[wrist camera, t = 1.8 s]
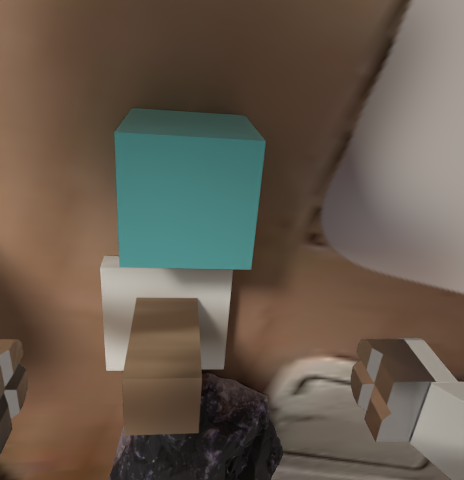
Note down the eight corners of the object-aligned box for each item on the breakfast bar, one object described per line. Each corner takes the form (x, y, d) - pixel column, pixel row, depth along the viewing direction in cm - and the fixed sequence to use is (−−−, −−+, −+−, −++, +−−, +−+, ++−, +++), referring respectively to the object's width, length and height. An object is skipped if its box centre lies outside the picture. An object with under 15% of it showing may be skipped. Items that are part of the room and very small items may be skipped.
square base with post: (104, 255, 26) (72, 344, 19) (230, 258, 27) (248, 343, 20) (109, 355, 30) (84, 464, 22) (221, 354, 31) (234, 458, 23)
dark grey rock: (297, 370, 33) (331, 480, 24) (261, 494, 38) (278, 627, 28) (128, 347, 32) (94, 454, 23) (111, 478, 36) (77, 614, 27)
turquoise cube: (132, 107, 23) (114, 132, 17) (245, 115, 24) (265, 141, 18) (134, 213, 25) (119, 267, 19) (235, 217, 26) (251, 269, 20)
